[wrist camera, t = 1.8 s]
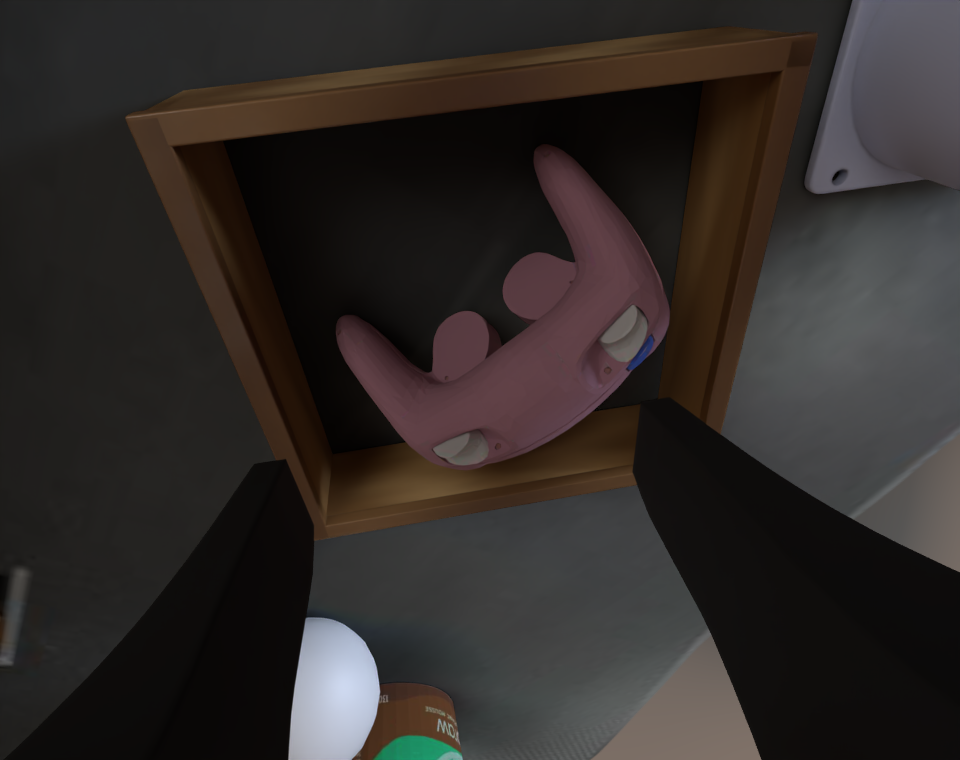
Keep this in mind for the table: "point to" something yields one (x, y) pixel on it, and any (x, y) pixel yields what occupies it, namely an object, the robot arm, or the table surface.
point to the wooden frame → (467, 86)
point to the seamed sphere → (332, 693)
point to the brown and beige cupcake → (412, 725)
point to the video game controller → (526, 339)
